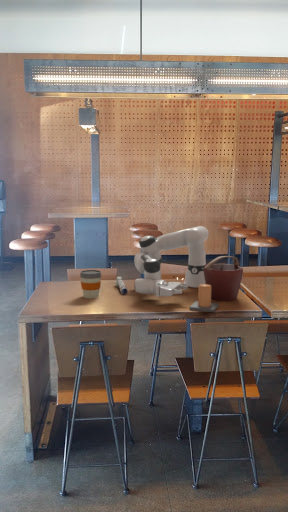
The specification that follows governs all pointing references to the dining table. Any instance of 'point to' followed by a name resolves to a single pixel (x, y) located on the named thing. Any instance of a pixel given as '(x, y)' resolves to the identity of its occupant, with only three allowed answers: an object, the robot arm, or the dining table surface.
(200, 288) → the tan upright cylinder
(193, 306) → the post base
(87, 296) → the reusable coffee cup
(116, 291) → the dining table surface
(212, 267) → the bucket
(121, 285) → the white blue cylinder
